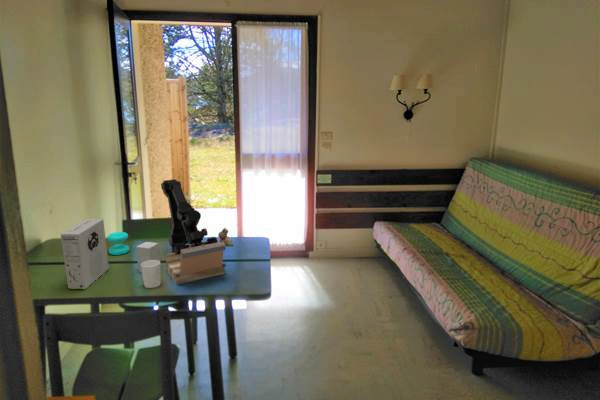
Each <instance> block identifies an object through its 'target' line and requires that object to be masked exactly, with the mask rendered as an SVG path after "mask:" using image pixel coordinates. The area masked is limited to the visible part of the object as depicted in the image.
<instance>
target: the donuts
mask: <svg viewBox="0 0 600 400" xmlns="http://www.w3.org/2000/svg"><path fill="white" fill-rule="evenodd" d="M106 238H107V239H106V240H107V241H108V242H110V243H113V244H114V243H116V244H114V245H112V246H110V247H109V249H108V253H109V254H110V255H112V256H122V255H125V254H127V253H128V252H130V249H131V248H130V246H129V245H127V244H124V243H122V242H125V241H127V240H128V238H129V234H128V233H127V232H125V231H115V232H112V233H109V234H108V235H107V237H106ZM117 243H118V244H117ZM121 254H122V255H121Z"/></svg>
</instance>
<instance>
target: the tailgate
mask: <svg viewBox="0 0 600 400" xmlns="http://www.w3.org/2000/svg"><path fill="white" fill-rule="evenodd" d="M226 247H227V246H226V245H225V243H224V242H220V241H218V242H217V243H213V244H207V245H202V246H197V247H192V248H186V249H181V257H180V275H181V276H182V275H186V274H191V273H195V272H200V271H204V270H209V269H213V268H218V267H222V263H223V262H224V251H226Z"/></svg>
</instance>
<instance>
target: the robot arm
mask: <svg viewBox="0 0 600 400" xmlns="http://www.w3.org/2000/svg"><path fill="white" fill-rule="evenodd" d="M160 186H161V190H162V192H163V195H164V196H165V197H166V198H167V201H168V206H169V207H168V208H169V213H170V219H171V223H172V227H171V229H170V236H169V239H168V243H169V244H168V245H170V246H171V251H172V252H171V253H175V255H178V254H181V249H186V248H192V247H197V246H202V245H207V244H213V243H218V242H219V241H218V239H217V237H216V236H212V237H208V238H207V239H206V241H203V240H204V238H205V236H208V235H209V234H208V229H207V228H206V227H204V228H201V230H199V229H198V227H197V226H198V225H199V222H200V221H201V220H200V219H201V216H202V215H201V212H199V210H195V208H194V207H193V205H191V203H189V202H188V201H187V198H186V197H185V194H184V191H183V189H182V184H181V181H179V180H177V179H167V180H163V181H162V182H161V183H160ZM182 222H183V223H182Z"/></svg>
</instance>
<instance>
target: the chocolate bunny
mask: <svg viewBox="0 0 600 400" xmlns="http://www.w3.org/2000/svg"><path fill="white" fill-rule="evenodd" d="M228 233H229V230H228V229H227V228H226V227H224V228H223V229H222V230H221V231H219V233H218V234H217V235H218V238H219V242H224V243H225V245H226V247H232V246H234V243H233V241H232V239H231V238H230V237H229V236H228Z"/></svg>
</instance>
